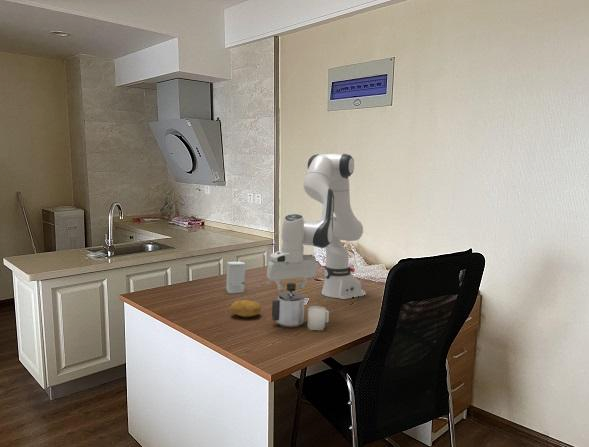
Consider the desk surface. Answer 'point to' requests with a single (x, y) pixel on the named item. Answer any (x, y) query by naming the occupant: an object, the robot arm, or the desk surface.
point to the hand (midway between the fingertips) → (291, 289)
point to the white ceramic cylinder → (317, 317)
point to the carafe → (288, 309)
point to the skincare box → (235, 277)
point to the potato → (246, 308)
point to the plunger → (291, 288)
